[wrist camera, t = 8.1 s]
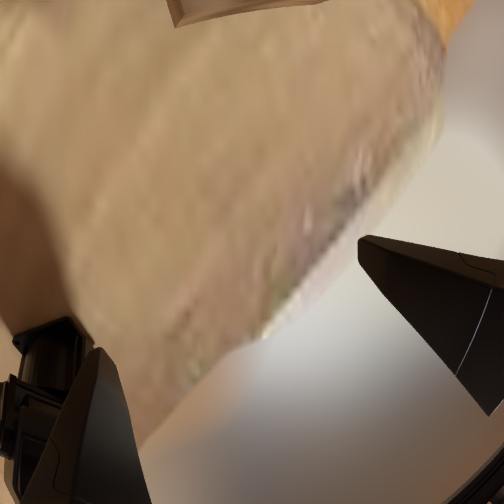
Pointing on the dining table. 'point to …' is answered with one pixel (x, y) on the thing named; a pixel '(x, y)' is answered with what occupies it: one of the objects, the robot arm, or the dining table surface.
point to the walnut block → (223, 8)
